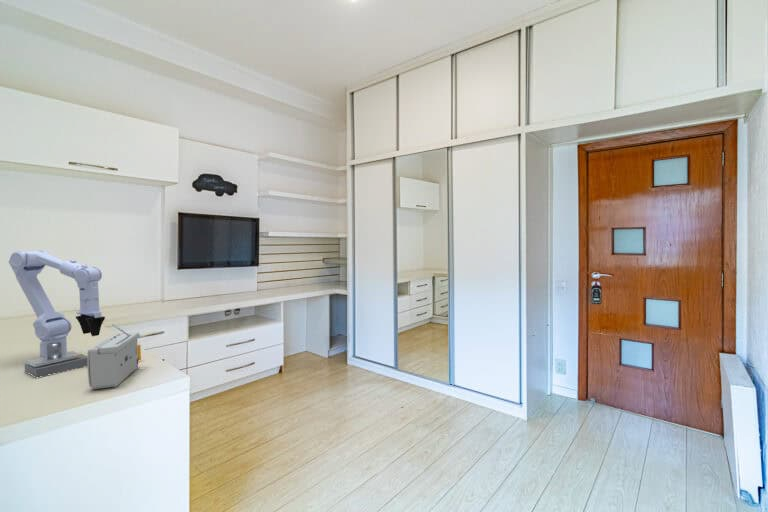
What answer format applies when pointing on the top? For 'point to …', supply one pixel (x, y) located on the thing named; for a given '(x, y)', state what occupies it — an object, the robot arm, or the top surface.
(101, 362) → the stereo radio cassette player
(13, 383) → the top surface
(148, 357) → the top surface
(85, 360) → the base
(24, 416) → the top surface
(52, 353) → the cylinder
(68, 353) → the pan
